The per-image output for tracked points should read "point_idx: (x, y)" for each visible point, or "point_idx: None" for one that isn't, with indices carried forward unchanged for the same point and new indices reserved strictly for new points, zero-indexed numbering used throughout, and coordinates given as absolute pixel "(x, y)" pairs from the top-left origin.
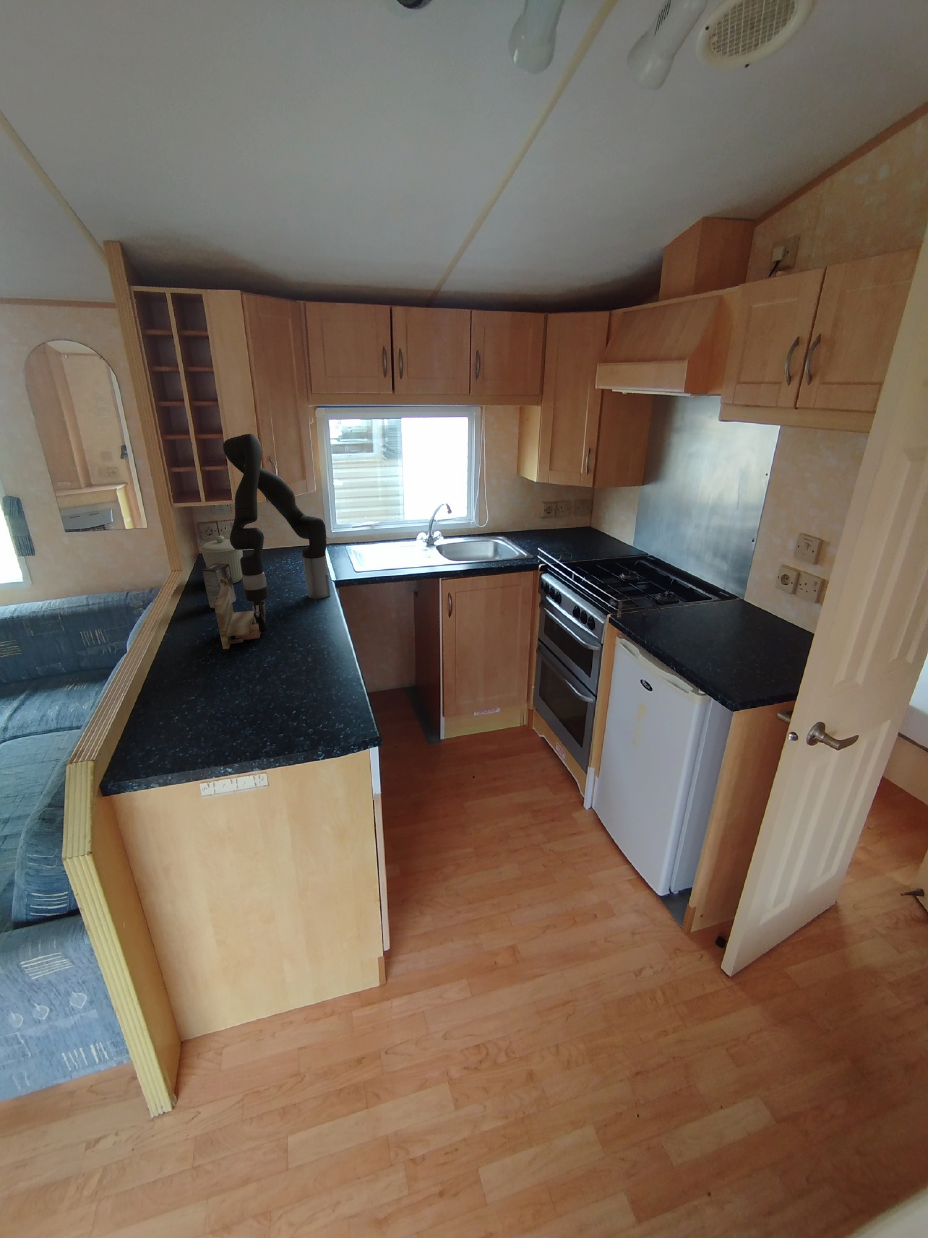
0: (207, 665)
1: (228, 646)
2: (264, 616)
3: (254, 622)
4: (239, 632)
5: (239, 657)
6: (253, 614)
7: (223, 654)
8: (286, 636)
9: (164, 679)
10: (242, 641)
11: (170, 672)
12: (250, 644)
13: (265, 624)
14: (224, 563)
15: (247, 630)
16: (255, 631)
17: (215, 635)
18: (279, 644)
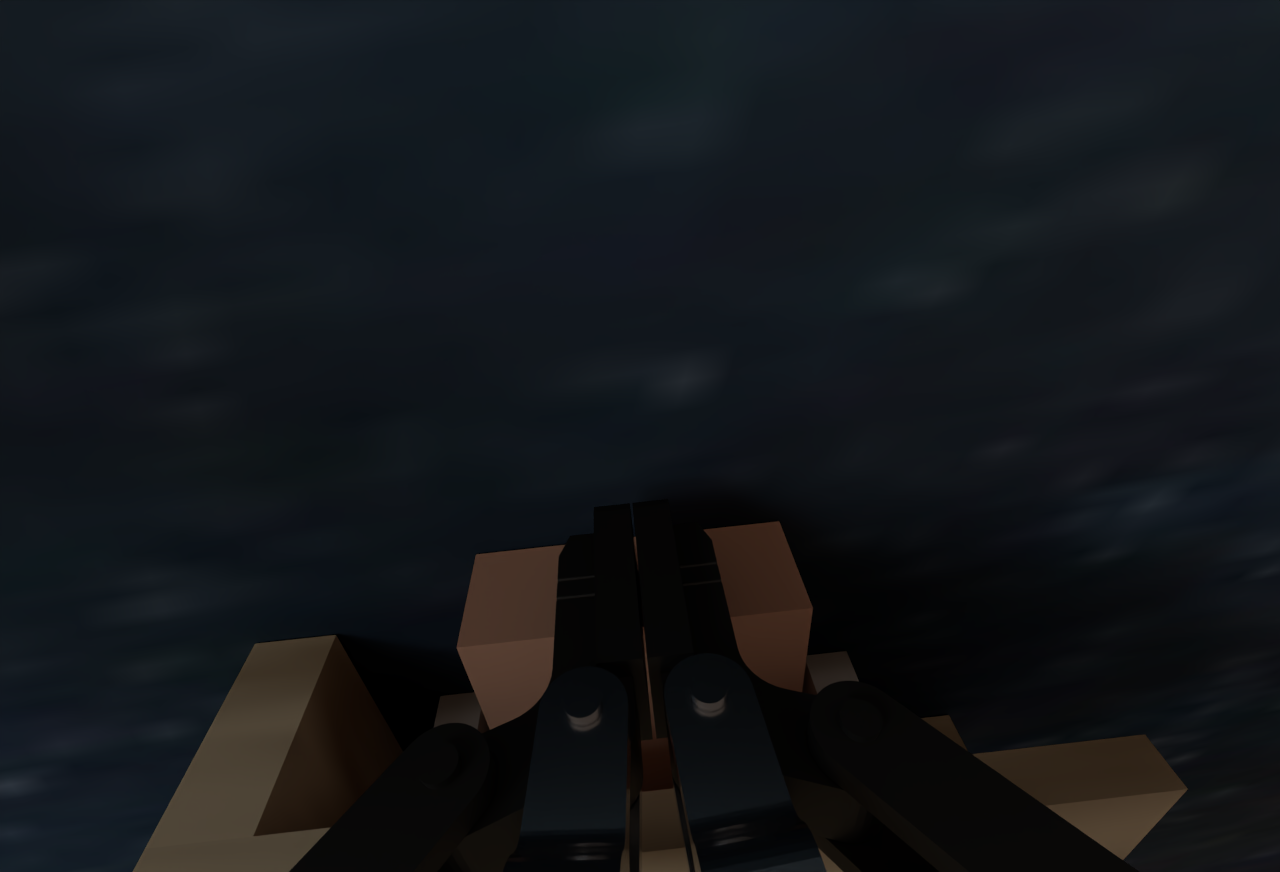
0: (1216, 756)
1: (960, 740)
2: (601, 773)
3: (314, 700)
4: (1123, 851)
5: (1259, 600)
6: (266, 862)
7: (1066, 720)
8: (892, 44)
9: (1235, 862)
10: (848, 664)
11: (1152, 866)
12: (951, 575)
13: (609, 585)
14: None
15: (1137, 804)
16: (793, 642)
17: None
18: (1239, 157)
